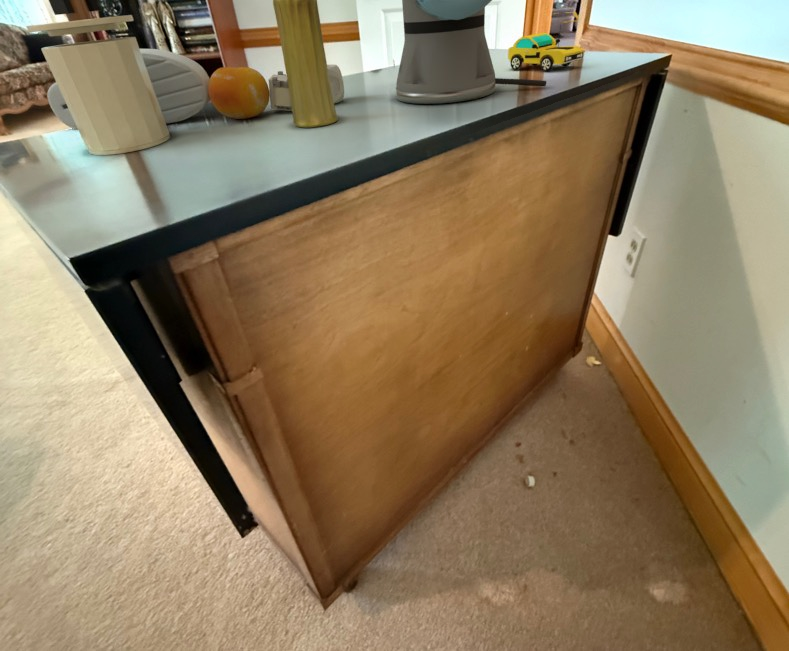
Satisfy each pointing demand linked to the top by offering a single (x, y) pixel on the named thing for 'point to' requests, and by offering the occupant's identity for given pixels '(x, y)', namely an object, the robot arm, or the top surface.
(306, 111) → the vase
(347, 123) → the top surface
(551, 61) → the toy car
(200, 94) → the boat shoe
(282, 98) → the transformer
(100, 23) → the lid
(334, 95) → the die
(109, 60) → the pot
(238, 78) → the fruit
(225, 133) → the top surface
